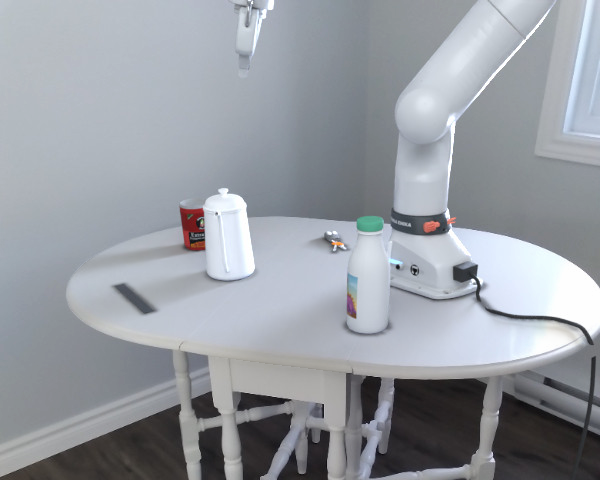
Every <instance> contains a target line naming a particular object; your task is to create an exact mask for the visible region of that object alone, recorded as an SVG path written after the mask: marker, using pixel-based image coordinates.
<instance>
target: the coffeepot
mask: <svg viewBox="0 0 600 480" xmlns="http://www.w3.org/2000/svg"><path fill="white" fill-rule="evenodd" d="M217 192H218V193H217V194H214V195H211V196H209V197H207V198H205V199H206V201H205V204H204V205H203V211H204V221H205V248H206V249H205V269H206V270H205V271H206V274H207V275H208V276H209V277H210V278H212V279H214V280H218V281H226V282H227V281H237V280H242V279H245V278H247V277H249V276H251V275H252V274H253V273H254V271H255V268H256V267H255V259H254V253H253V247H252V241H251V234H250V227H249V221H248V214H247V203H246V202H245V201H244V199H243V197H241V196H240V195H239V194H236V193H228V192H229V188H226V187H221V188H218V189H217Z"/></svg>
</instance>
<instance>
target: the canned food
mask: <svg viewBox="0 0 600 480" xmlns="http://www.w3.org/2000/svg"><path fill="white" fill-rule="evenodd" d="M206 199H207V198H205V197H204V198H202V197H195V198H188V199H187V198H186V199H184V200H181V201H180V202H179V203H178V205H179V215H180V221H181V222H180V223H181V228H182V229H181V230H182V236H183V244H184V246H185V248H186V249H188V250H190V251H206V248H205V221H204V211H203V205H204V204H205V201H206Z"/></svg>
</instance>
